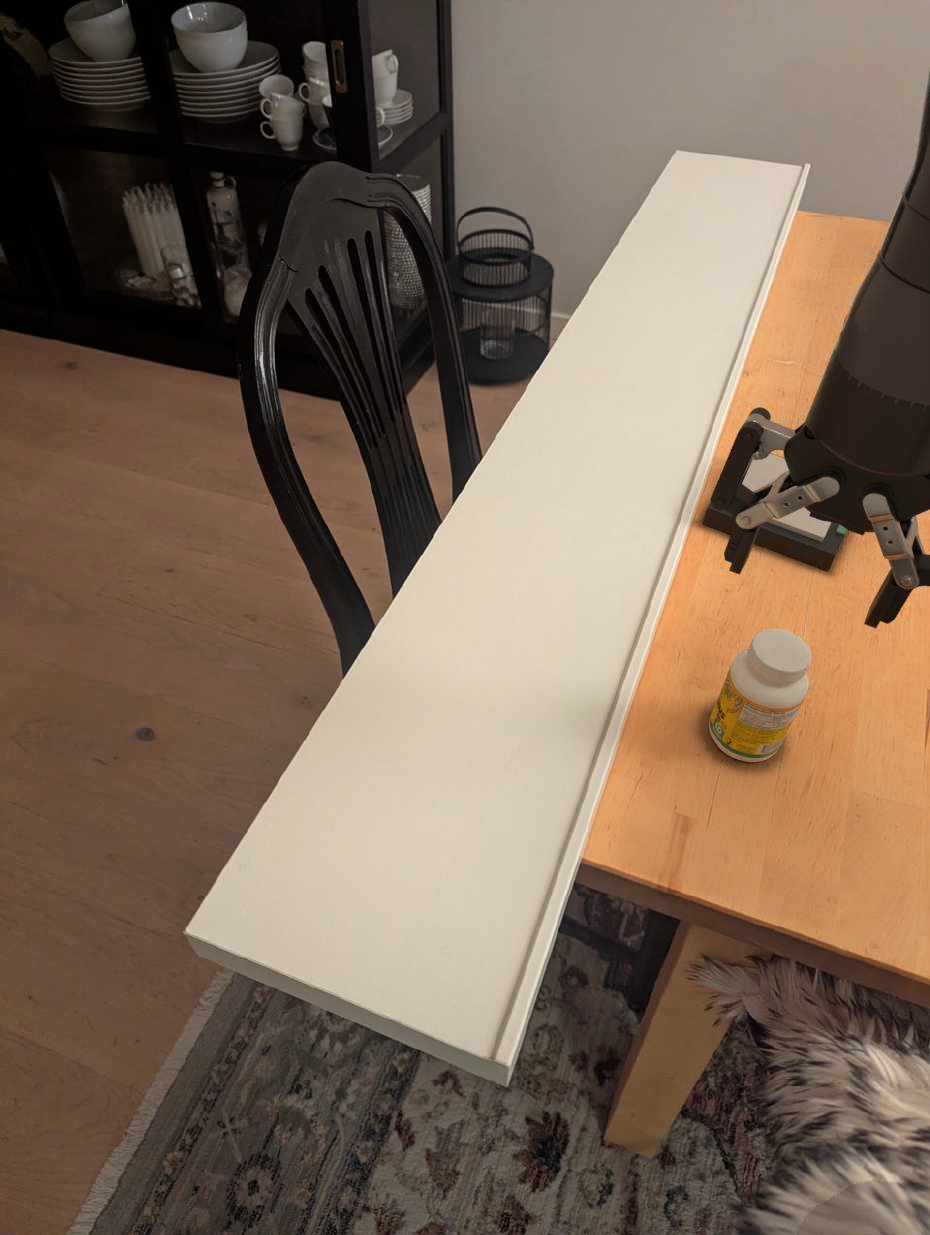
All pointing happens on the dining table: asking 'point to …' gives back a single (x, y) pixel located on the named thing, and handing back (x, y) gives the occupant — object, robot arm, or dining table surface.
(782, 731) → the supplement bottle
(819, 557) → the scale
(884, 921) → the dining table surface
